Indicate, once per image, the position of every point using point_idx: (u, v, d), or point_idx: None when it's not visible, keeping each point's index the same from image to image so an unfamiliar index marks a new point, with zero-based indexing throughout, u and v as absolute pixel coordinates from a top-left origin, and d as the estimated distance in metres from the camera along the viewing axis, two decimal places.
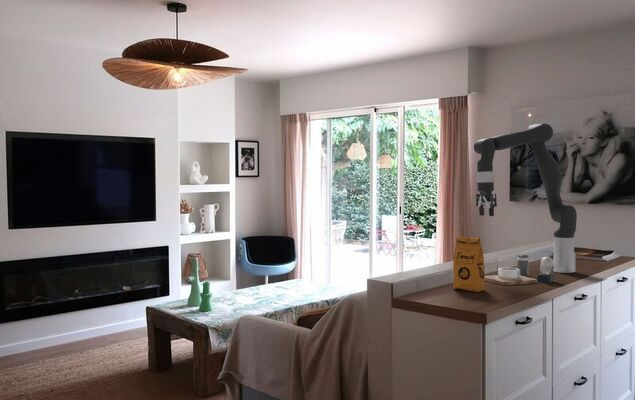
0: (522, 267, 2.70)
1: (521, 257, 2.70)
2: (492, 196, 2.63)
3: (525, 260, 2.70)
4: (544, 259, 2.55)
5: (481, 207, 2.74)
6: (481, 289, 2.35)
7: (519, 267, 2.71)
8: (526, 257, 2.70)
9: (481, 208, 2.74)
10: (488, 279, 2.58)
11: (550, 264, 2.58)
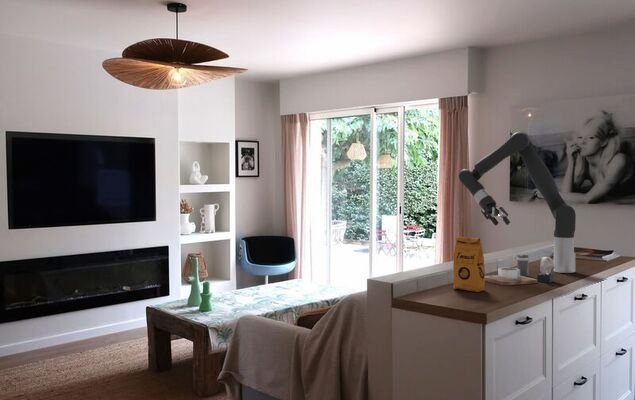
0: (522, 267, 2.70)
1: (521, 257, 2.70)
2: (482, 211, 2.83)
3: (525, 260, 2.70)
4: (544, 259, 2.55)
5: (503, 218, 2.86)
6: (481, 289, 2.35)
7: (519, 267, 2.71)
8: (526, 257, 2.70)
9: (504, 218, 2.86)
10: (488, 279, 2.58)
11: (550, 264, 2.58)
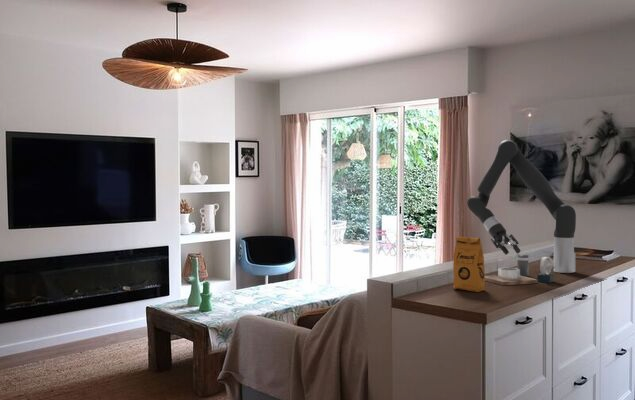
0: (522, 267, 2.70)
1: (521, 257, 2.70)
2: (492, 240, 2.79)
3: (525, 260, 2.70)
4: (544, 259, 2.55)
5: (514, 246, 2.81)
6: (481, 289, 2.35)
7: (519, 267, 2.71)
8: (526, 257, 2.70)
9: (514, 247, 2.81)
10: (488, 279, 2.58)
11: (550, 264, 2.58)
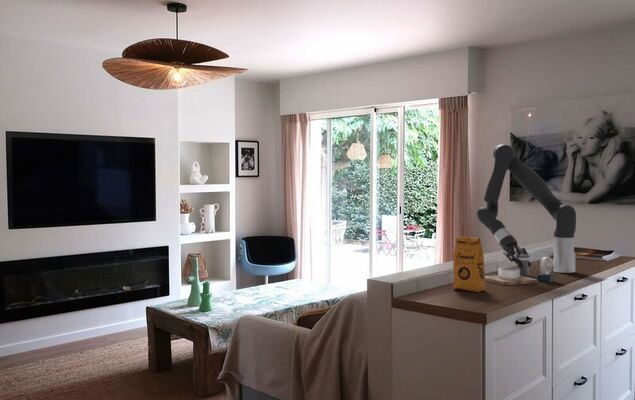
0: (522, 267, 2.70)
1: (521, 257, 2.70)
2: (505, 253, 2.73)
3: (525, 260, 2.70)
4: (544, 259, 2.55)
5: None
6: (481, 289, 2.35)
7: None
8: (526, 257, 2.70)
9: None
10: (488, 279, 2.58)
11: (550, 264, 2.58)
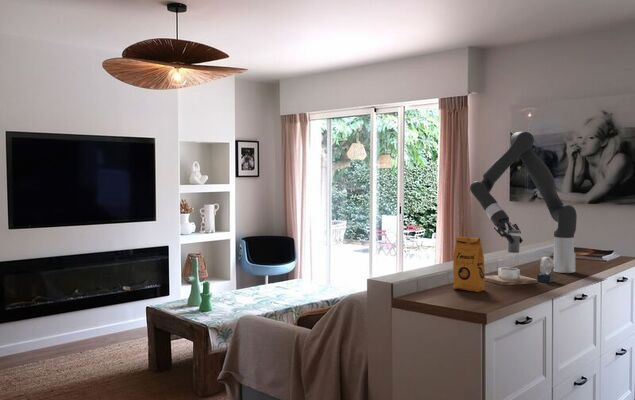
0: (513, 243, 2.62)
1: (512, 232, 2.62)
2: (495, 229, 2.65)
3: (516, 235, 2.62)
4: (544, 259, 2.55)
5: None
6: (481, 289, 2.35)
7: None
8: (517, 232, 2.62)
9: None
10: (488, 279, 2.58)
11: (550, 264, 2.58)
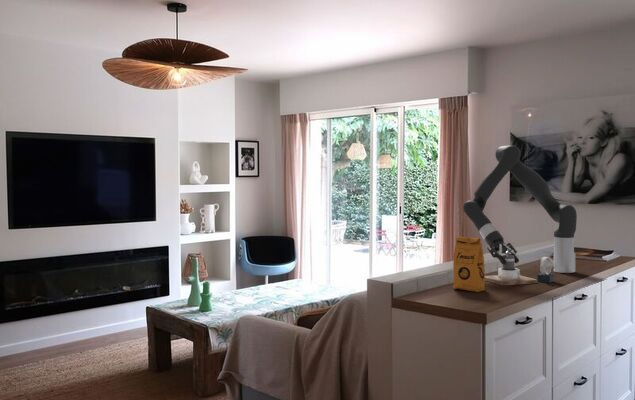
0: (507, 269, 2.56)
1: (507, 258, 2.56)
2: (488, 249, 2.59)
3: (511, 261, 2.56)
4: (544, 259, 2.55)
5: None
6: (481, 289, 2.35)
7: (504, 268, 2.57)
8: (512, 258, 2.56)
9: None
10: (488, 279, 2.58)
11: (550, 264, 2.58)
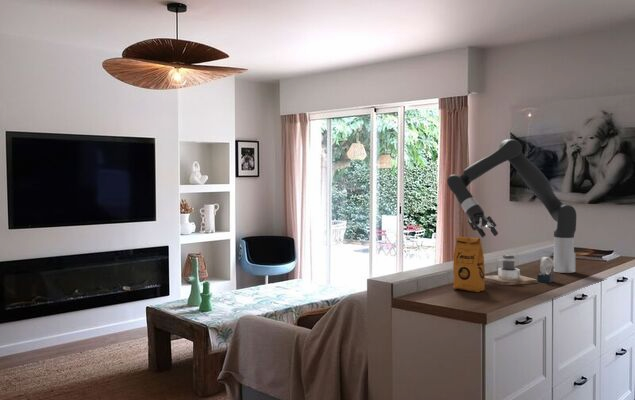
0: (508, 269, 2.56)
1: (507, 258, 2.56)
2: (469, 222, 2.71)
3: (511, 261, 2.56)
4: (544, 259, 2.55)
5: (491, 228, 2.73)
6: (481, 289, 2.35)
7: (505, 268, 2.57)
8: (512, 258, 2.56)
9: (491, 229, 2.73)
10: (488, 279, 2.58)
11: (550, 264, 2.58)
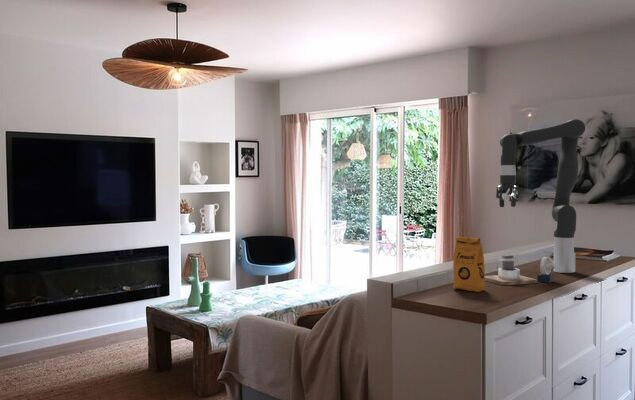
0: (507, 269, 2.56)
1: (506, 258, 2.56)
2: (497, 188, 2.84)
3: (511, 261, 2.56)
4: (544, 259, 2.55)
5: (512, 199, 2.90)
6: (481, 289, 2.35)
7: (505, 268, 2.57)
8: (511, 257, 2.56)
9: (512, 200, 2.90)
10: (488, 279, 2.58)
11: (550, 264, 2.58)
